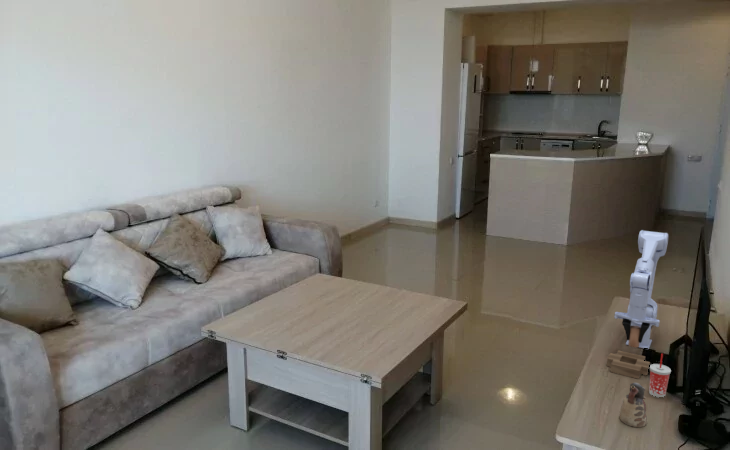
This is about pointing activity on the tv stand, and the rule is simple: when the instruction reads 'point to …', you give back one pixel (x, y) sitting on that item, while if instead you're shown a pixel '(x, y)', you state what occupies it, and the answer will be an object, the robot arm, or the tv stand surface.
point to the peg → (634, 336)
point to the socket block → (628, 364)
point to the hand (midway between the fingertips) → (634, 340)
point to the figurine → (634, 407)
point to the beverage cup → (659, 379)
